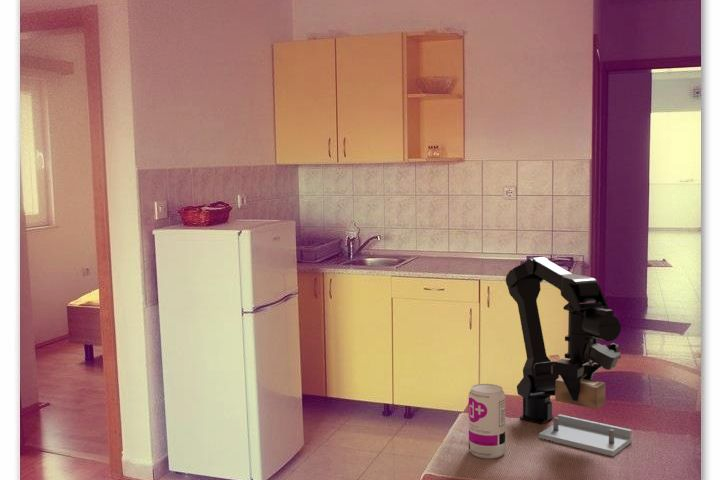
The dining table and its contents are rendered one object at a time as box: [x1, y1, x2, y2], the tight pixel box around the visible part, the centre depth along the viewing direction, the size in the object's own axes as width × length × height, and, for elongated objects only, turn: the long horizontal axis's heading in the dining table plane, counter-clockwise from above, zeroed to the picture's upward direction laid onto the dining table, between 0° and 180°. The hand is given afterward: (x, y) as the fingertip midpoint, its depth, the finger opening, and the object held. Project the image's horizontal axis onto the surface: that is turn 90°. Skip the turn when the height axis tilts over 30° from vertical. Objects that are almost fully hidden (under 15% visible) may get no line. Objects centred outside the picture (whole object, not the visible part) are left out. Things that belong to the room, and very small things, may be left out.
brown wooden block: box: [554, 376, 607, 410], centre depth 165 cm, size 10×5×5 cm, turn 49°
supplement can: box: [468, 383, 506, 460], centre depth 160 cm, size 8×8×15 cm
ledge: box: [538, 413, 633, 457], centre depth 167 cm, size 18×11×4 cm, turn 49°
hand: (580, 397), depth 165 cm, fingers closed on brown wooden block, 5 cm apart
